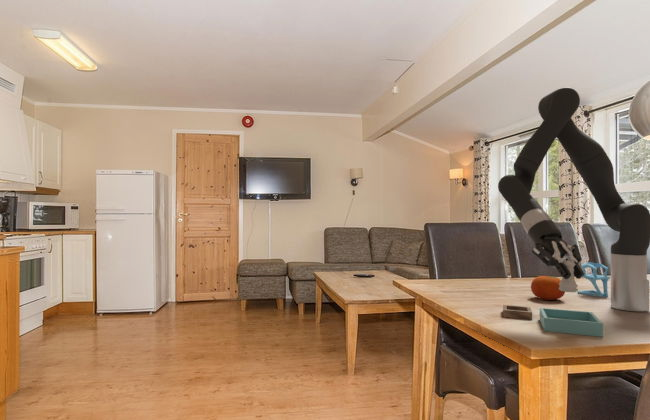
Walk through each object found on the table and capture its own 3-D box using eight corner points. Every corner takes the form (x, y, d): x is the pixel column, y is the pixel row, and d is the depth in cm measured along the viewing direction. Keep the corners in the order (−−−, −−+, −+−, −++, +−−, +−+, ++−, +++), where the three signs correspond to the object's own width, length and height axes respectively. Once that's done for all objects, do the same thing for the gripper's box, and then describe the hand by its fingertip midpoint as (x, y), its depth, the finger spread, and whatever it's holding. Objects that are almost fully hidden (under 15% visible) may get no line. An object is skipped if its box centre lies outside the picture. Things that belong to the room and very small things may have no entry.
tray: (591, 324, 111) (591, 311, 111) (602, 336, 100) (602, 323, 100) (539, 319, 116) (539, 307, 116) (544, 330, 105) (544, 317, 105)
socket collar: (530, 313, 123) (530, 306, 123) (532, 319, 116) (532, 312, 116) (502, 311, 126) (502, 304, 126) (503, 316, 119) (503, 309, 119)
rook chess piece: (571, 289, 110) (571, 259, 111) (582, 292, 106) (582, 261, 106) (554, 289, 110) (555, 259, 110) (565, 292, 106) (565, 261, 106)
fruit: (526, 298, 145) (526, 276, 145) (537, 295, 152) (537, 273, 152) (559, 303, 137) (559, 279, 137) (569, 299, 144) (569, 276, 144)
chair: (596, 297, 147) (596, 264, 147) (576, 293, 155) (577, 261, 155) (613, 296, 150) (613, 263, 149) (593, 292, 158) (593, 261, 158)
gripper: (525, 218, 114) (559, 268, 102) (568, 219, 117) (606, 267, 105) (512, 236, 119) (543, 286, 107) (553, 236, 122) (588, 284, 110)
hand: (574, 276), depth 106 cm, fingers closed on rook chess piece, 3 cm apart
